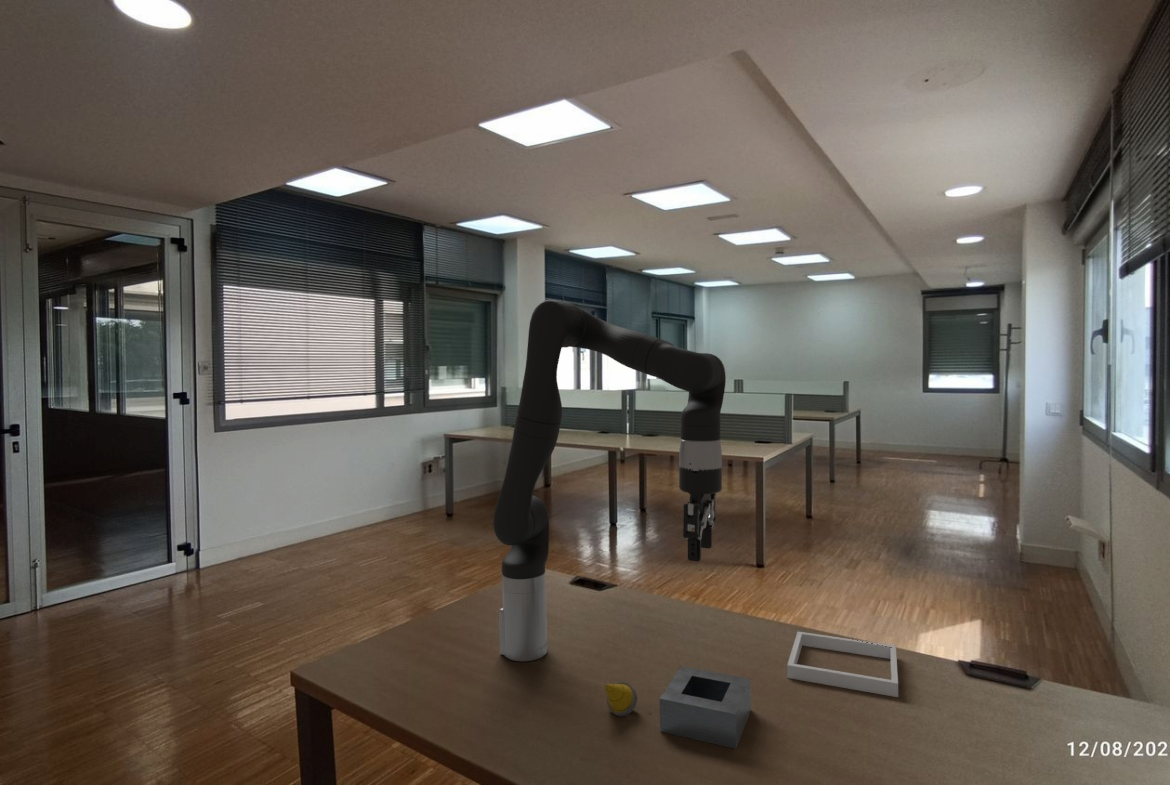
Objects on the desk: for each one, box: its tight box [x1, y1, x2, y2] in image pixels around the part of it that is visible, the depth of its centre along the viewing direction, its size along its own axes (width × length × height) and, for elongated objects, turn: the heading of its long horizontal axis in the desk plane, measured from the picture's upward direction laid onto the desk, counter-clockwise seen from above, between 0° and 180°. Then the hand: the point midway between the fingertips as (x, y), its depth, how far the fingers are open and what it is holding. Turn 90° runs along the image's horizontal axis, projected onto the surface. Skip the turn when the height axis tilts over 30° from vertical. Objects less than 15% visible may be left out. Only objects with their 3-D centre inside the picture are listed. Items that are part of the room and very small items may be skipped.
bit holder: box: [659, 665, 752, 750], centre depth 106 cm, size 12×12×6 cm
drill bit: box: [604, 681, 638, 717], centre depth 108 cm, size 5×5×10 cm
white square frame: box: [786, 631, 899, 698], centre depth 123 cm, size 19×17×2 cm
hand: (700, 553), depth 112 cm, fingers open, 8 cm apart
